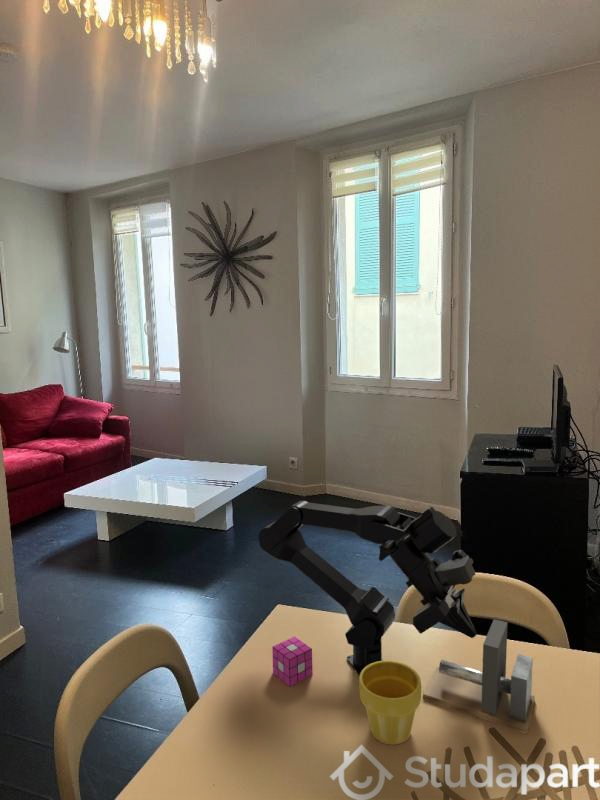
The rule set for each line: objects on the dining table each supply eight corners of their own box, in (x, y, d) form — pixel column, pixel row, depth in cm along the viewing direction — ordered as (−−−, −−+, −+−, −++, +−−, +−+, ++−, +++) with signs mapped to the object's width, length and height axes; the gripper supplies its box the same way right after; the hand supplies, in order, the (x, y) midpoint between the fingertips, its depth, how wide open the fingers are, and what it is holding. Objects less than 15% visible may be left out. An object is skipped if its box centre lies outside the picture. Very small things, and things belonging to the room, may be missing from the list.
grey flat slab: (481, 710, 97) (483, 644, 95) (491, 680, 104) (493, 619, 102) (495, 715, 95) (497, 648, 94) (505, 684, 103) (507, 622, 101)
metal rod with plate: (435, 694, 102) (435, 653, 101) (445, 672, 108) (446, 634, 106) (525, 723, 94) (526, 680, 93) (531, 698, 100) (532, 657, 99)
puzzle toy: (272, 672, 111) (272, 646, 110) (295, 661, 114) (294, 635, 113) (290, 687, 106) (289, 660, 105) (312, 675, 110) (312, 648, 109)
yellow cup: (348, 719, 97) (348, 668, 96) (399, 703, 101) (399, 653, 100) (378, 762, 88) (378, 706, 86) (433, 742, 91) (434, 688, 90)
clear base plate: (422, 698, 102) (422, 693, 102) (436, 671, 110) (437, 666, 110) (527, 733, 93) (527, 727, 93) (534, 701, 101) (534, 695, 101)
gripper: (432, 562, 92) (498, 642, 88) (460, 525, 108) (517, 591, 104) (387, 595, 97) (448, 672, 93) (420, 555, 113) (473, 619, 109)
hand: (474, 636), depth 100 cm, fingers closed
